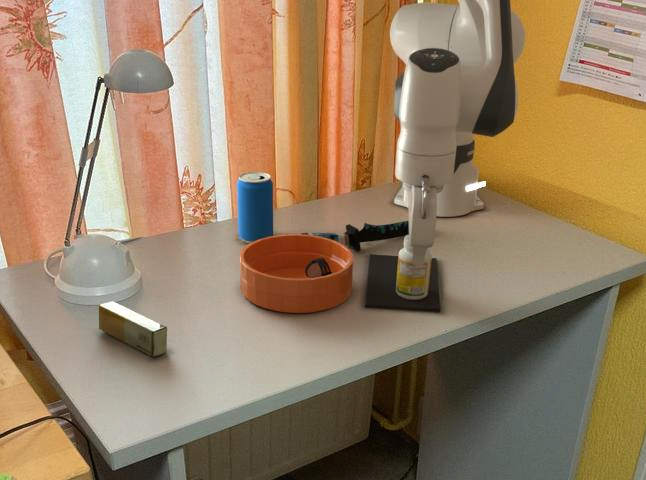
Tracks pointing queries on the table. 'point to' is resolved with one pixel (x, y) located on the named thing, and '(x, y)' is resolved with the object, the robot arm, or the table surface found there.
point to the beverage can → (255, 206)
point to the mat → (384, 287)
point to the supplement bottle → (412, 274)
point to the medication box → (133, 328)
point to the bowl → (295, 273)
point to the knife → (366, 234)
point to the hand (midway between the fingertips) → (417, 250)
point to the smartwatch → (317, 268)
